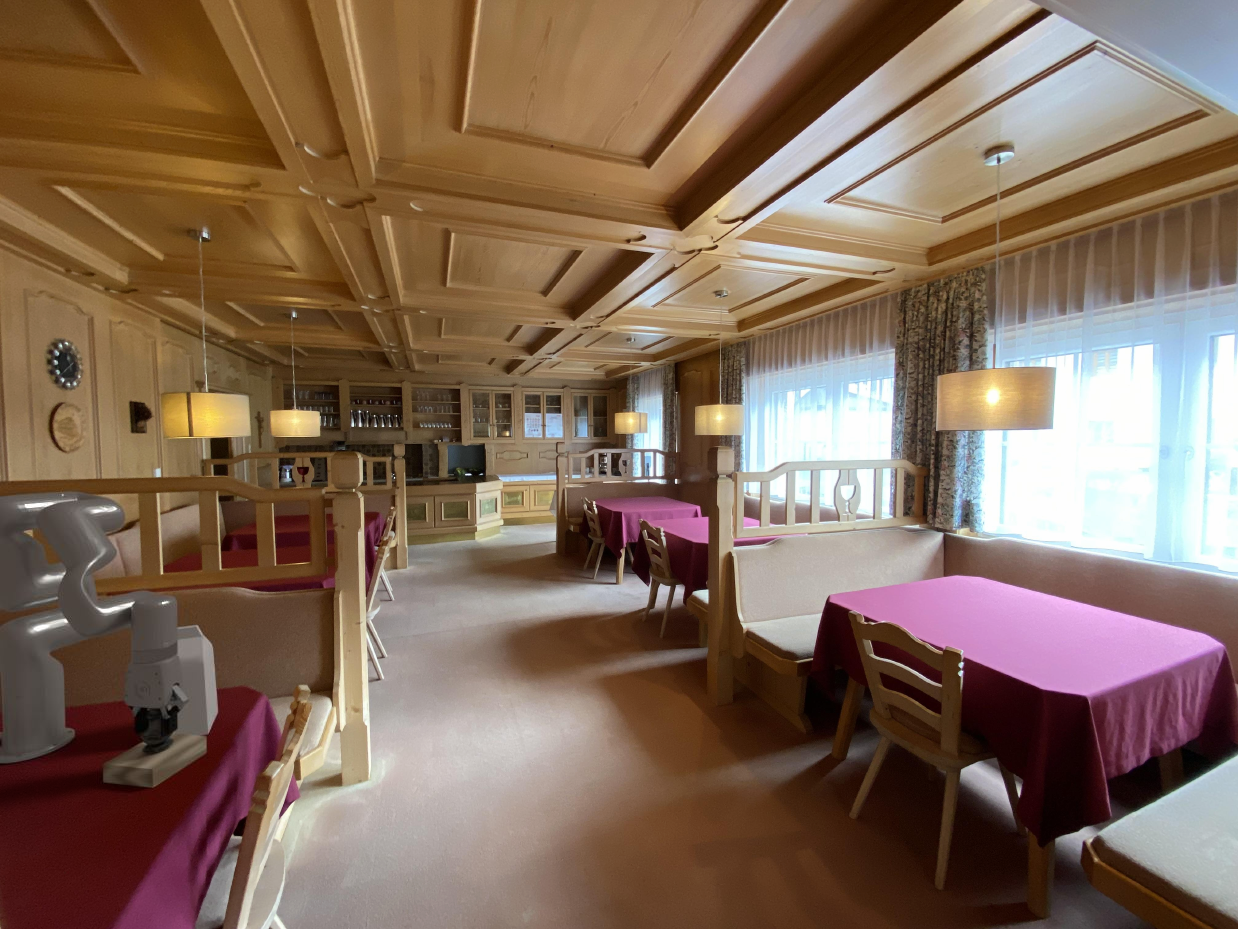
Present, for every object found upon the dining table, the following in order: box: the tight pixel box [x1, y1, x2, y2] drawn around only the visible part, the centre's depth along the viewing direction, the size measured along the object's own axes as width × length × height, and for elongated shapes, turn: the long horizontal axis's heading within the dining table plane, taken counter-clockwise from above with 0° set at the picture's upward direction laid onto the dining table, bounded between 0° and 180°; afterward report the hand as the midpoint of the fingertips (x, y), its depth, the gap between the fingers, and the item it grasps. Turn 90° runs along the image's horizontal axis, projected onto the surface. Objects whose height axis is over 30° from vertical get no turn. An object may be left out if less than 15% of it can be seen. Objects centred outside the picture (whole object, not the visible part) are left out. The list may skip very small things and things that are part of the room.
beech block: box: [102, 733, 208, 789], centre depth 111 cm, size 12×12×4 cm
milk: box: [148, 624, 219, 736], centre depth 126 cm, size 12×12×26 cm
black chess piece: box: [139, 708, 174, 753], centre depth 111 cm, size 6×6×12 cm
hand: (156, 731), depth 111 cm, fingers closed on black chess piece, 5 cm apart
